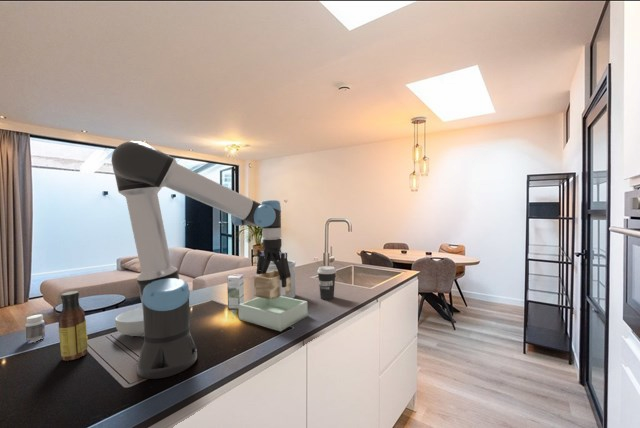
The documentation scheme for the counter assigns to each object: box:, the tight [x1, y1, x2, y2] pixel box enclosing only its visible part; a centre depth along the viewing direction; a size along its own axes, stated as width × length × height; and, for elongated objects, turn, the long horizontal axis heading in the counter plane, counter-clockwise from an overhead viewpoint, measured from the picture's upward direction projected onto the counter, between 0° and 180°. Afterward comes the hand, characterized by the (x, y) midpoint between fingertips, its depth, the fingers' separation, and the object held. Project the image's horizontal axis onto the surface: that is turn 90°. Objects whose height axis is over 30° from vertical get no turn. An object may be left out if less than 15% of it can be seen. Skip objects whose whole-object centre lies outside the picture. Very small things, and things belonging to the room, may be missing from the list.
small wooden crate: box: [253, 270, 291, 300], centre depth 114 cm, size 12×9×8 cm
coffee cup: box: [316, 265, 337, 301], centre depth 138 cm, size 10×10×15 cm
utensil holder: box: [266, 259, 296, 299], centre depth 141 cm, size 15×15×18 cm
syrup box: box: [226, 274, 245, 310], centre depth 127 cm, size 6×6×14 cm
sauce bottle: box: [57, 290, 89, 362], centre depth 85 cm, size 6×6×20 cm
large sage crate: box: [238, 296, 309, 332], centre depth 114 cm, size 17×22×6 cm
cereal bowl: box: [114, 307, 144, 337], centre depth 102 cm, size 17×17×7 cm
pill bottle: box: [24, 313, 46, 343], centre depth 97 cm, size 5×5×8 cm
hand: (273, 293), depth 114 cm, fingers closed on small wooden crate, 9 cm apart
